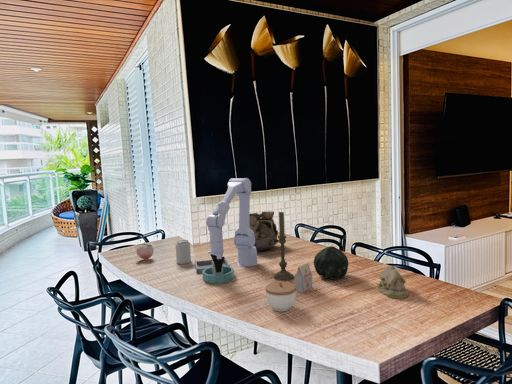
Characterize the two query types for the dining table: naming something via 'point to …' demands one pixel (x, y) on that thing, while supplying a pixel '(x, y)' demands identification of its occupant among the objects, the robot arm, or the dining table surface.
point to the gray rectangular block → (215, 269)
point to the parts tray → (206, 265)
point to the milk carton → (303, 278)
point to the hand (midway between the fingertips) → (218, 270)
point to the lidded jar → (281, 295)
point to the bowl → (216, 279)
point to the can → (183, 252)
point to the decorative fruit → (145, 251)
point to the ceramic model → (392, 283)
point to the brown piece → (263, 230)
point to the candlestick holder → (282, 252)
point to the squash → (331, 263)
